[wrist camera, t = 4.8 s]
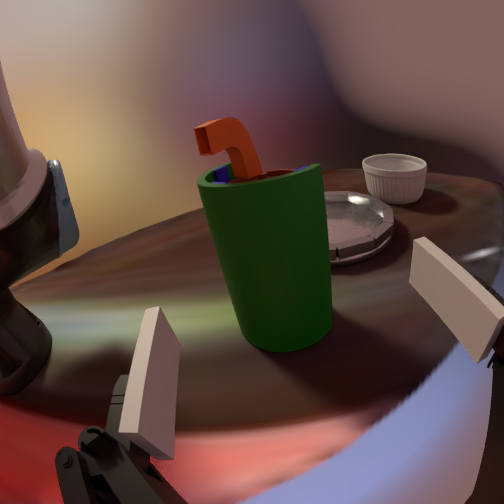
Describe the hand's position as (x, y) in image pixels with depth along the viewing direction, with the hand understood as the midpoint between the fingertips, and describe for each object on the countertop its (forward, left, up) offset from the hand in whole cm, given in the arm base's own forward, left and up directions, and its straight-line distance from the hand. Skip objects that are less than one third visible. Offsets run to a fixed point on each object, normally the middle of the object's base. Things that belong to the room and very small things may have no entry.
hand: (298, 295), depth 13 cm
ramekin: (+29, +35, -12) cm, 47 cm away
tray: (+11, +27, -12) cm, 31 cm away
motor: (0, +11, -12) cm, 16 cm away
